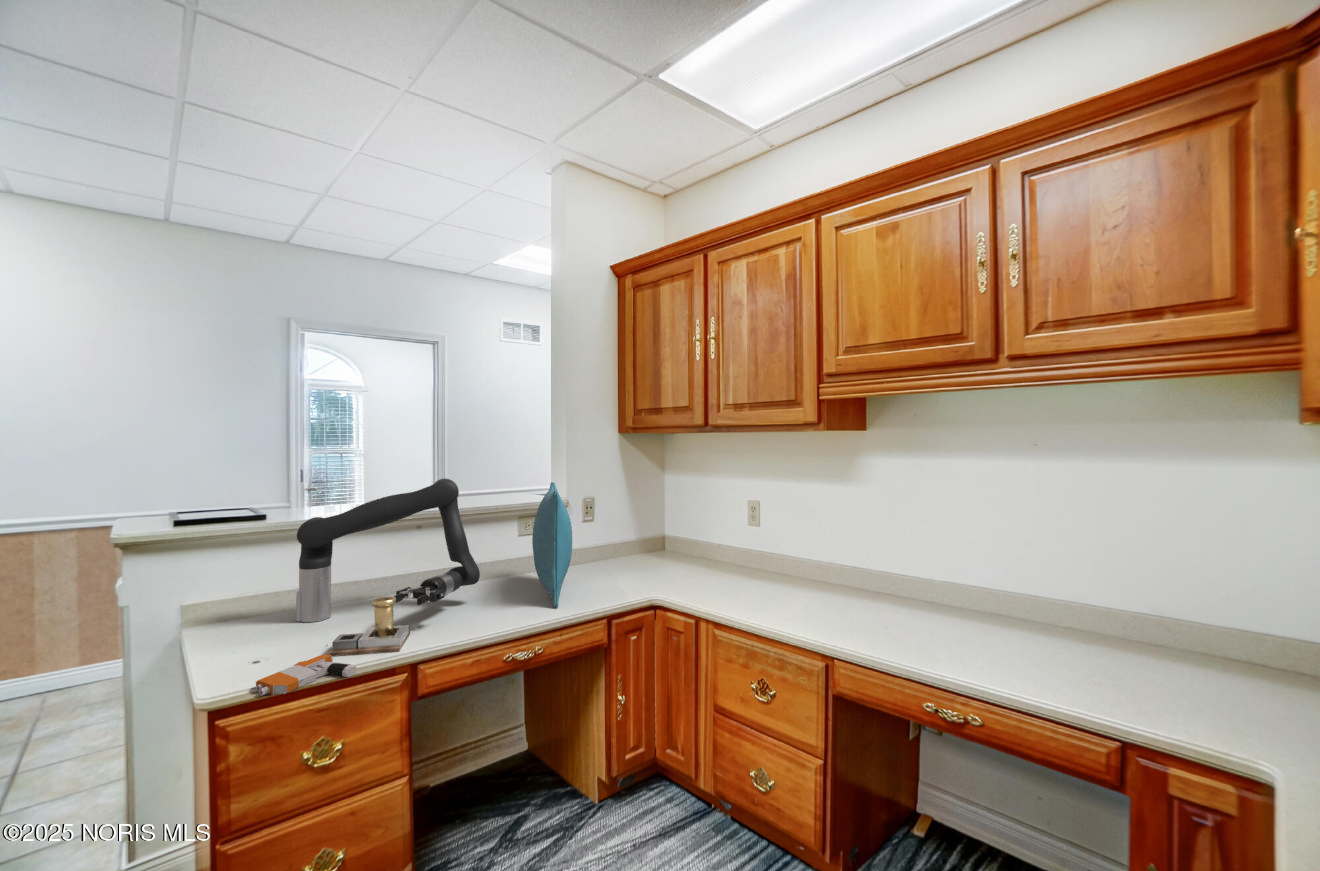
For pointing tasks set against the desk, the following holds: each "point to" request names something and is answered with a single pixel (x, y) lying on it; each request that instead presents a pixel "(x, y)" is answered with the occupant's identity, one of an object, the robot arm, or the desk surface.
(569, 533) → the pillow
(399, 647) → the walnut board
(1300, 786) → the desk surface
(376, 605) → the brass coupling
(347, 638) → the grey square ring
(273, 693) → the toy gun
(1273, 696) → the desk surface
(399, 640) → the wide steel port
